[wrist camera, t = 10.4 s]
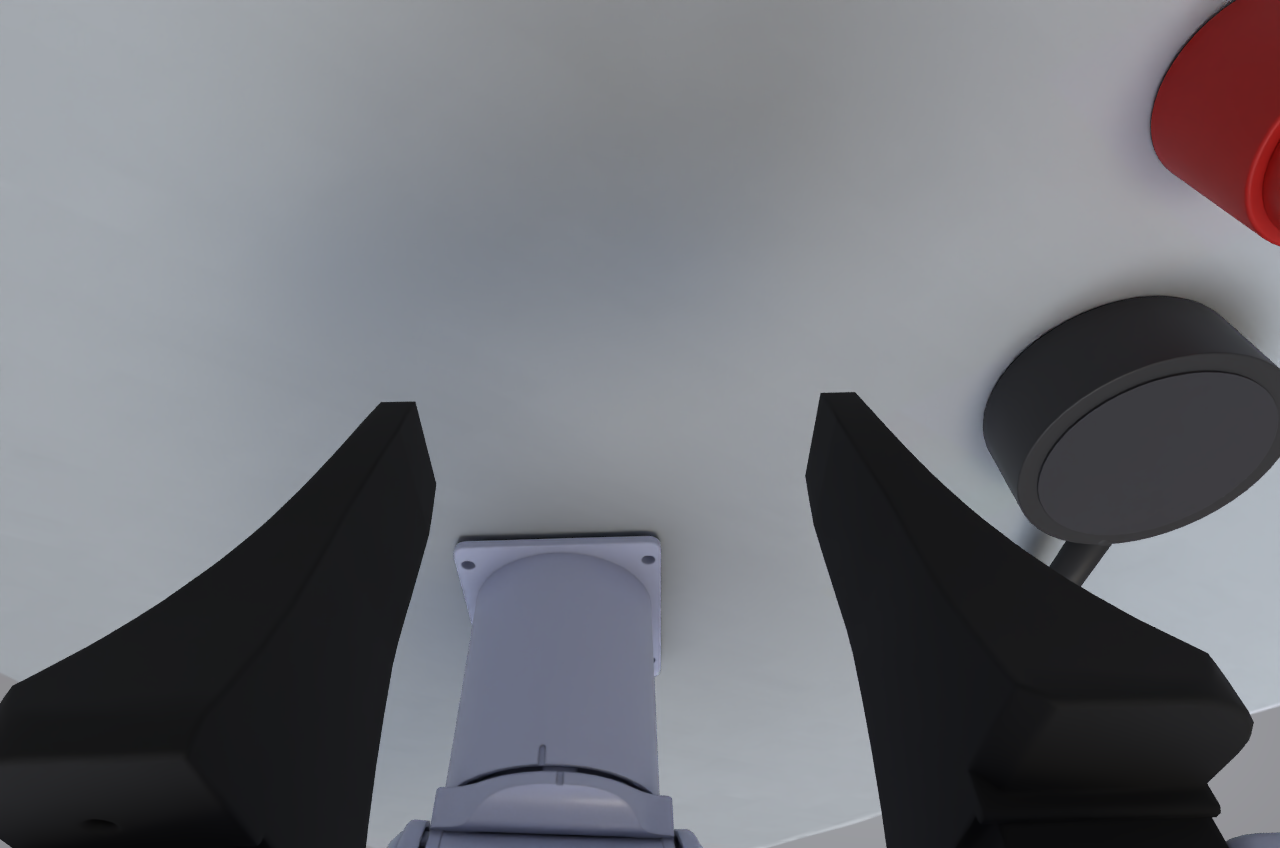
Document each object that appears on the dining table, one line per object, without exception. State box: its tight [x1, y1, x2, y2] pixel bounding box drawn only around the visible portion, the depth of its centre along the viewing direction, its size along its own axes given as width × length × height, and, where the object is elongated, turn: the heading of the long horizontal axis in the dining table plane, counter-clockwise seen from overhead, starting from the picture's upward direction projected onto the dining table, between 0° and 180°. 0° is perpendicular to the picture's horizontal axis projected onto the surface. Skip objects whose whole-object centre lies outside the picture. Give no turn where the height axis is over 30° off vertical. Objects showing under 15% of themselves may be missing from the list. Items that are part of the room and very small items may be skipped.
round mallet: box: [983, 297, 1280, 587], centre depth 30 cm, size 26×8×3 cm, turn 1°
